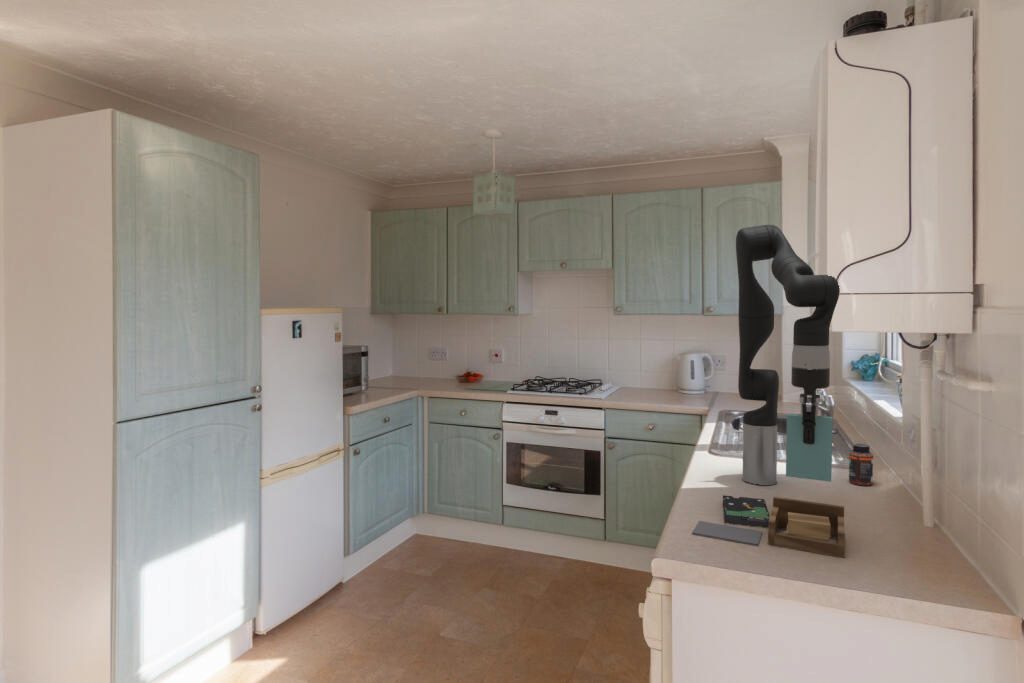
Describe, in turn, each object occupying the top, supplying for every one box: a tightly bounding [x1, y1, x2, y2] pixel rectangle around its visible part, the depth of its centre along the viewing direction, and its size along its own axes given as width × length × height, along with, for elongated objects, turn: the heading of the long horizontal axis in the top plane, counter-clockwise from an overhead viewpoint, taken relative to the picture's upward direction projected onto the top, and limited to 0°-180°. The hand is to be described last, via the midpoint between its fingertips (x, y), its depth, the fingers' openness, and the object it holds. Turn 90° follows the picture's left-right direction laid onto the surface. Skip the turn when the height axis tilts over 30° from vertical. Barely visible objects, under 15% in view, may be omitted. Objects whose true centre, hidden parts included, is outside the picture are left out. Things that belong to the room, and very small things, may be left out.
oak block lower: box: [785, 525, 829, 542], centre depth 125 cm, size 5×8×3 cm, turn 62°
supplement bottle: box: [848, 443, 874, 487], centre depth 166 cm, size 6×6×11 cm
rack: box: [767, 496, 846, 558], centre depth 127 cm, size 12×14×7 cm
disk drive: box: [722, 494, 771, 528], centre depth 143 cm, size 10×3×15 cm
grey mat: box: [691, 520, 763, 547], centre depth 131 cm, size 8×14×1 cm, turn 61°
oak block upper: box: [788, 512, 831, 540], centre depth 125 cm, size 5×8×3 cm, turn 66°
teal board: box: [785, 413, 834, 483], centre depth 128 cm, size 2×9×14 cm, turn 61°
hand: (809, 441), depth 128 cm, fingers closed on teal board, 2 cm apart
